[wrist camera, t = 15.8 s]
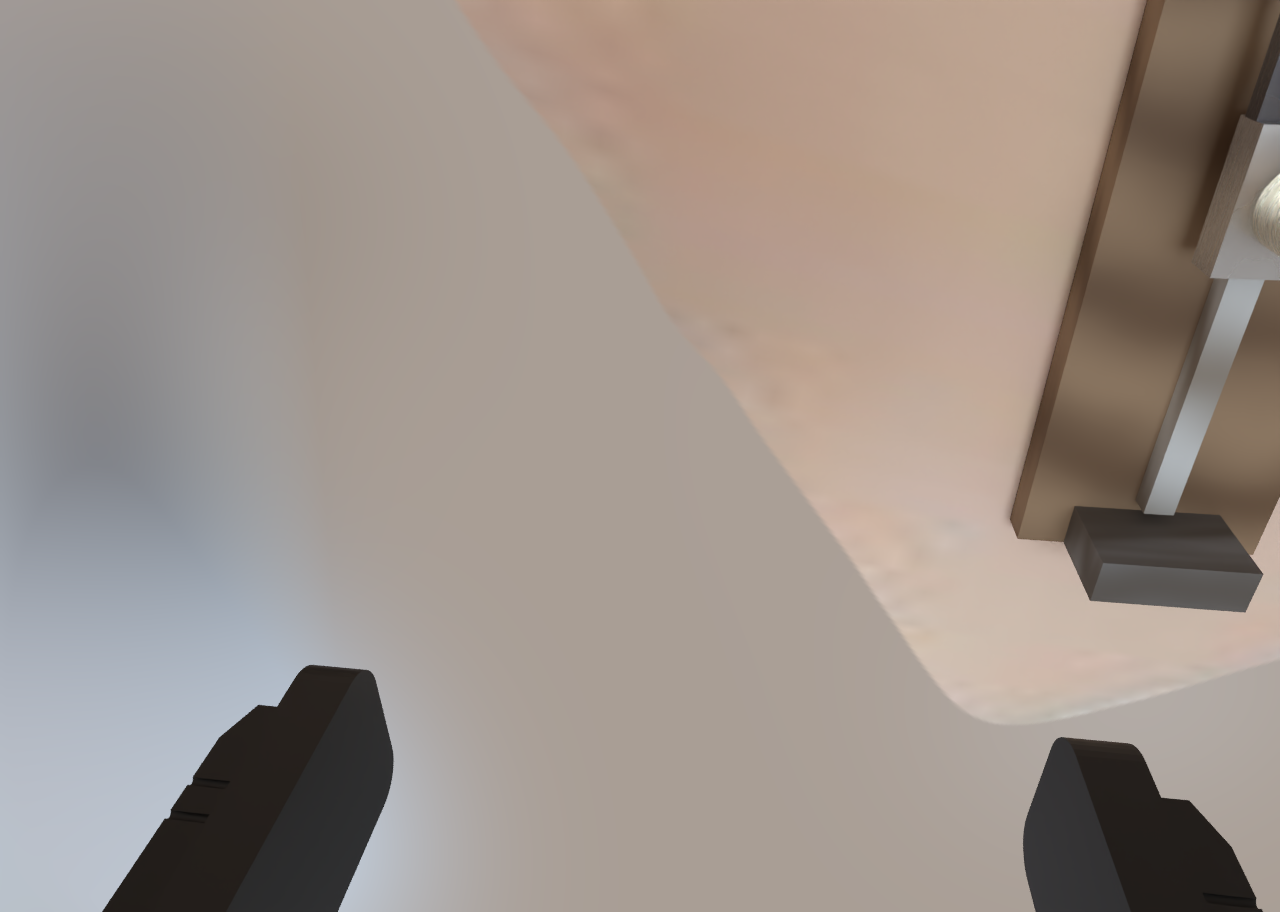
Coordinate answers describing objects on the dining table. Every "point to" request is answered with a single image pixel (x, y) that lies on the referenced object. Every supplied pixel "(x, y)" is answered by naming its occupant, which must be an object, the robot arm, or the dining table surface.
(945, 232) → the dining table surface
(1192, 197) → the track
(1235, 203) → the slider
